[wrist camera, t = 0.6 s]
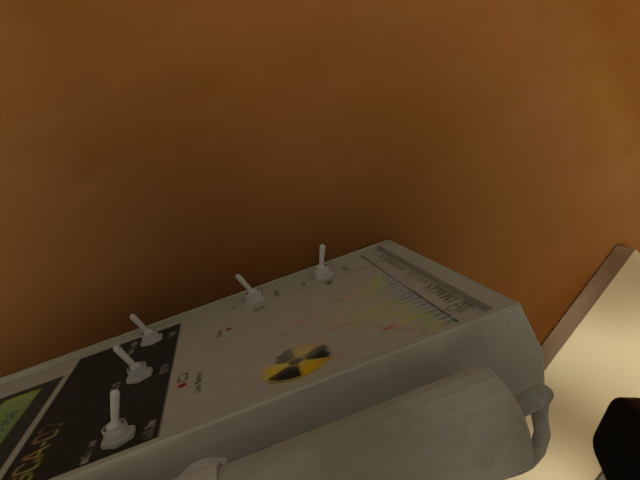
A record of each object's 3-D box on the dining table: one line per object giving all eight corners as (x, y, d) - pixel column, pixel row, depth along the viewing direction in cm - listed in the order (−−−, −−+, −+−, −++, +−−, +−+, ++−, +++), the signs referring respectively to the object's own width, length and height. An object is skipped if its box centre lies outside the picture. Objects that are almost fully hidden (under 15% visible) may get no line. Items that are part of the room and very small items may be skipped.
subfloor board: (584, 657, 30) (602, 681, 29) (391, 545, 27) (401, 566, 25) (785, 393, 30) (812, 404, 28) (616, 245, 26) (638, 250, 25)
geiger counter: (614, 290, 10) (-1036, 936, 7) (671, 563, 12) (-709, 1214, 9) (388, 213, 24) (-221, 427, 21) (426, 344, 25) (-142, 564, 22)
